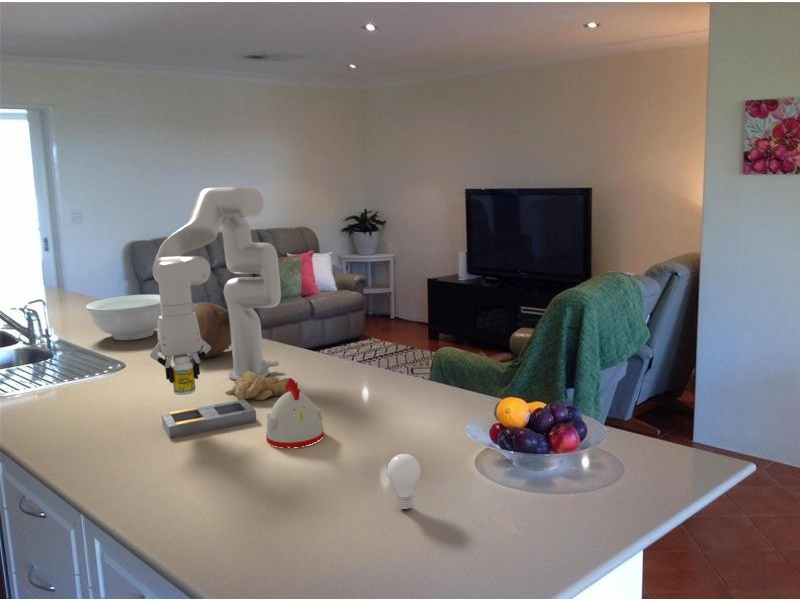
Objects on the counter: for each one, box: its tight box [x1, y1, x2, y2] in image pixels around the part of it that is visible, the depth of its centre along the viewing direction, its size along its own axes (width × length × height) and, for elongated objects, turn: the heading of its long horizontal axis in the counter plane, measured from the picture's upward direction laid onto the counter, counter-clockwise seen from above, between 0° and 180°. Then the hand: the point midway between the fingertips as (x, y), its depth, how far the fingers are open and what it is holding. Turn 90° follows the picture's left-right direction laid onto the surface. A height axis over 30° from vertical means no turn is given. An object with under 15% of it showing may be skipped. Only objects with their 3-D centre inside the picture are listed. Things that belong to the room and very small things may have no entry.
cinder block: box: [160, 399, 257, 439], centre depth 190 cm, size 22×11×3 cm, turn 117°
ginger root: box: [225, 371, 290, 401], centre depth 210 cm, size 16×16×8 cm
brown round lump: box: [189, 301, 232, 358], centre depth 261 cm, size 20×20×30 cm
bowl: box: [85, 294, 162, 341], centre depth 294 cm, size 32×32×15 cm
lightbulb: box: [386, 453, 422, 510], centre depth 138 cm, size 6×6×11 cm
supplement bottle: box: [171, 354, 196, 396], centre depth 185 cm, size 5×5×10 cm
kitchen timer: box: [265, 377, 325, 448], centre depth 177 cm, size 14×14×15 cm
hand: (183, 379), depth 185 cm, fingers closed on supplement bottle, 5 cm apart
